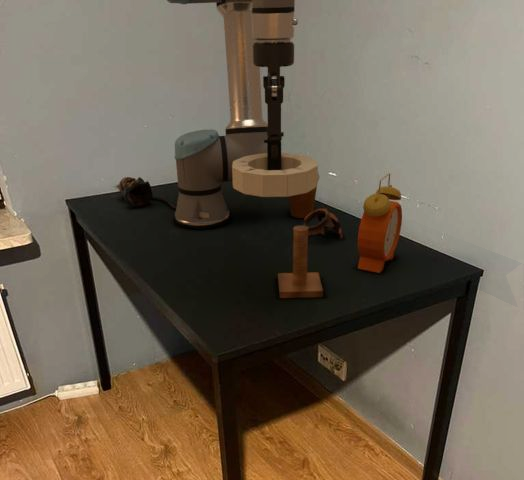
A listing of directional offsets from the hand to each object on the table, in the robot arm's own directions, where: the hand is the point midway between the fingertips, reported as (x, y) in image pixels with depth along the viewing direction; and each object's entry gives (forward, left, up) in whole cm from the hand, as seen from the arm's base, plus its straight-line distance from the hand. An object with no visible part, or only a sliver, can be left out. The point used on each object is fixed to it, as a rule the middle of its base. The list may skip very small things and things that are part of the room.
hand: (274, 173), depth 111 cm
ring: (+4, -5, 0) cm, 7 cm away
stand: (+8, -1, -23) cm, 24 cm away
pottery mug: (-7, +26, -23) cm, 35 cm away
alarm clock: (+13, +21, -23) cm, 34 cm away
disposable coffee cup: (-22, +35, -23) cm, 47 cm away
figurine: (-68, +10, -23) cm, 72 cm away
